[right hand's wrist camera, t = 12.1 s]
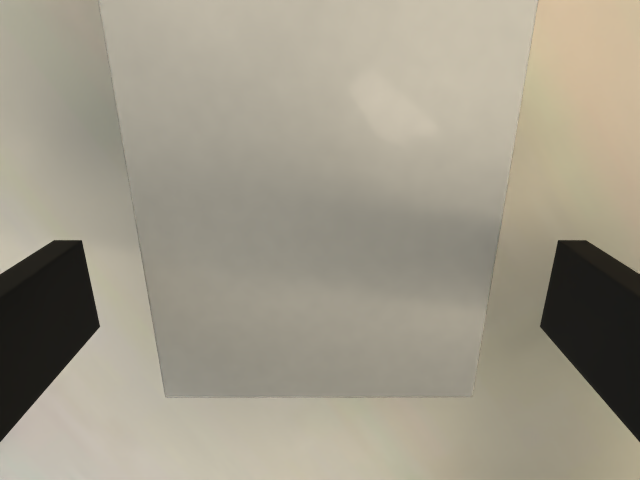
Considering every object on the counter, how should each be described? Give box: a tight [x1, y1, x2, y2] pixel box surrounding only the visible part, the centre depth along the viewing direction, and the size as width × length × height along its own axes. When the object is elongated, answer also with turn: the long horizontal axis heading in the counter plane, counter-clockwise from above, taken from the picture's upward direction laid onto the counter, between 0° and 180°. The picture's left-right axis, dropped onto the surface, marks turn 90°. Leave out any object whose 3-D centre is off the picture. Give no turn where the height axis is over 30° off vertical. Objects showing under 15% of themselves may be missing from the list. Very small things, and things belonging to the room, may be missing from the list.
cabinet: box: [98, 0, 538, 398], centre depth 16 cm, size 18×10×10 cm, turn 0°
